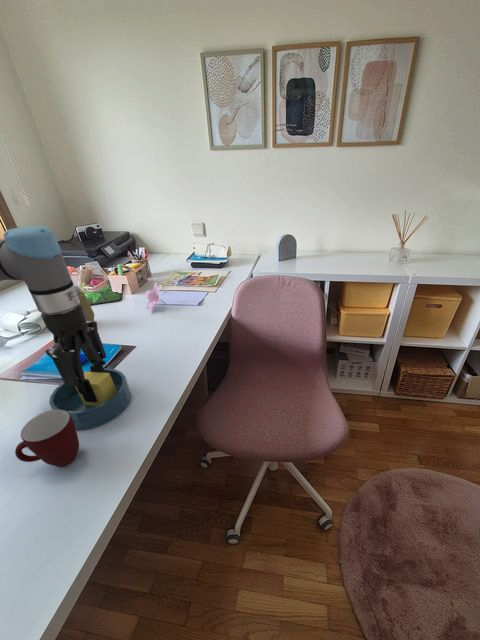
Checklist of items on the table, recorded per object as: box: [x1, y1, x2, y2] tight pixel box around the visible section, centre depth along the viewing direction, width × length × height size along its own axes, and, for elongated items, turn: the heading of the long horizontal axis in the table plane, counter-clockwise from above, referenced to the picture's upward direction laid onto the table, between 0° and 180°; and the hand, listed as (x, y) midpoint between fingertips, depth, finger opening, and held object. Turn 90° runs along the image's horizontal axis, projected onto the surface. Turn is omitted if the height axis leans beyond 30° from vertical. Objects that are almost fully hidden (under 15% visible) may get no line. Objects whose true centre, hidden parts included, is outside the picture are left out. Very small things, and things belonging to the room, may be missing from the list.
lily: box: [145, 282, 167, 314], centre depth 120 cm, size 12×12×10 cm
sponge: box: [75, 371, 117, 406], centre depth 73 cm, size 6×4×7 cm
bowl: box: [48, 367, 132, 431], centre depth 74 cm, size 17×17×5 cm
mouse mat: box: [80, 284, 123, 306], centre depth 136 cm, size 27×22×1 cm
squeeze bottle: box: [74, 286, 95, 321], centre depth 106 cm, size 8×8×18 cm
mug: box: [14, 409, 80, 468], centre depth 58 cm, size 11×8×10 cm
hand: (97, 393), depth 74 cm, fingers closed on sponge, 4 cm apart
